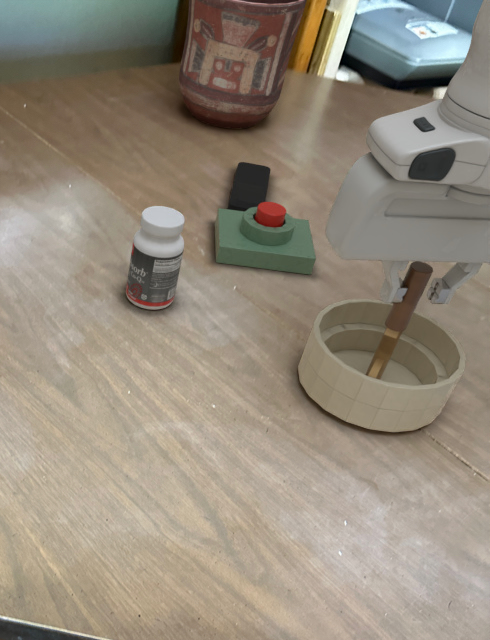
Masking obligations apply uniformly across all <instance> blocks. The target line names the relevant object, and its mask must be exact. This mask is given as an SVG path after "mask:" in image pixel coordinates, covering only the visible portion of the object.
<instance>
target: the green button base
mask: <svg viewBox="0 0 490 640" xmlns="http://www.w3.org/2000/svg"><path fill="white" fill-rule="evenodd" d="M256 211H257V207H252V208H249V209H248V210H246V211H245V212H244V211H236V210H228V209H227V208H219V207H218V208H217V213H216V216H215V220H214V243H215V245H214V246H215V263H216V264H217V263H218V264H226V265H233V266H241V267H248V268H257V269H264V270H270V271H279V272H286V273H293V274H294V273H295V274H300V275H301V274H302V275H309V276H310V275H312V272H313V269H314V266H315V264H316V261H317V257H316V252H315V247H314V242H313V237H312V232H311V227H310V221H309V219H304V218H297V217H293V216H291V215H290V214H289V213H288V212H286V215H285V219H284V222H283V225H282V226H281V227H276V228H273V227H266V226H263V225H261V224H258V223H257V222H256V221H255V215H256Z"/></svg>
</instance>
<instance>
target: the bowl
mask: <svg viewBox="0 0 490 640" xmlns="http://www.w3.org/2000/svg"><path fill="white" fill-rule="evenodd" d="M392 305H393V304H390V303H383V301H382V299H380V300H379V299H373V298H351V299H343V300H340V301H336V302H333V303H330V304H329V305H327V306H326V307H324V308H323V309H322V310H320V311H319V312H318V313H317V315H316V317H315V320H314V322H313V324H312V328H311V330H310V333H309V336H308V338H307V341H306V344H305V346H304V349H303V352H302V356H301V358H300V361H299V363H298V366H297V370H298V378H299V383H300V384H301V386H302V388H303V389H304V391H305V393H306V394H307V395H308V396H309V397H310V398H311V399H312V400H313V401H314V402H315V403H316V404H317V405H319V407H321V409H323V410H324V411H326V412H327V413H329V414H331V415H333V416H335V417H336V418H338V419H340V420H342V421H344V422H346V423H349V424H352V425H355V426H358V427H361V428H363V429H367V430H372V431H379V432H387V433H399V432H410V431H416V430H418V429H421V428H423V427H425V426H428V425H430V424H432V423H433V422H434V420H435V419H436V418H438V416H440V414H441V413H442V411H443V409H444V407H445V406H446V404H447V402H448V401H449V399H450V396H451V395H452V393H453V392H454V389H455V388H456V386H457V384H458V383H459V381H460V379H461V378H462V375H463V374H464V372H465V368H466V361H467V356H466V354H465V352H464V349H463V346H462V343H461V342H459V340H458V339H457V338H456V337H455V335H453V333H452V332H451V331H450V330H449V329H448V328H447V327H445V326H444V325H443V324H441V323H439V322H438V321H437V320H435V319H434V318H432V317H431V316H429V315H427V314H425V313H422V312H420V311H418V310H416V309H415V311H414V313H413V315H412V317H411V319H410V321H409V323H408V326H407V328H406V330H404V331H403V332H402V334H401V336H400V338H399V340H398V343H397V345H396V347H395V349H394V351H393V353H392V355H391V358H390V360H389V362H388V364H387V366H386V368H385V370H384V372H383V375H382V377H381V379H380V380H379V379H376V378H373V377H370V376H366V375H365V374H366V372H367V369H368V367H369V365H370V363H371V361H372V358H373V356H374V354H375V352H376V349H377V347H378V345H379V343H380V340H381V338H382V336H383V334H384V332H385V329H386V325H385V321H386V318H387V316H388V314H389V312H390V309H391V307H392Z"/></svg>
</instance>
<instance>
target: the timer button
mask: <svg viewBox="0 0 490 640" xmlns="http://www.w3.org/2000/svg"><path fill="white" fill-rule="evenodd" d="M286 213H287V208H286V207H285V206H283V205H282V204H280V203H277V202H273V201H265V202H262V203H260V204H259V205H258V207H257V211H256V215H255V221H256V222H257V223H258V224H261V225H263V226H266V227H273V228H276V227H281V226H282V225H283V222H284V219H285V215H286Z"/></svg>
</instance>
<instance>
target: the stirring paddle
mask: <svg viewBox="0 0 490 640" xmlns="http://www.w3.org/2000/svg"><path fill="white" fill-rule="evenodd" d="M433 272H434V268H433V266H432V265H430V264H429V263H427V262H416V261H411V263H410V265H409V267H408V269H407V271H406V274H405V275H404V278H403V279H402V280H403V283H404V284H405V285H406V286H407V287H408V289H407V292H406V294H405V295H404V296H403V300H402V302H401V303H398V304H393V305H392V307H391V309H390V312H389V314H388V316H387V318H386V321H385V325H386V329H385V332H384V334H383V336H382V338H381V340H380V343H379V345H378V347H377V349H376V352H375V354H374V356H373V358H372V361H371V363H370V365H369V367H368V369H367V372H366V374H365V375H366V376H370V377H373V378H376V379H379V380H380V379H381V377H382V375H383V372H384V370H385V368H386V366H387V364H388V362H389V360H390V358H391V355H392V353H393V351H394V349H395V347H396V345H397V343H398V340H399V338H400V336H401V334H402V332H403V331H404V330H406V328H407V326H408V323H409V321H410V319H411V317H412V315H413V313H414V311H415V310H416V308H417V306H418V304H419V303H420V301H421V299H422V296H423V293H424V291H425V290H426V287H427V286H428V284H429V281H430V279H431V277H432V274H433Z"/></svg>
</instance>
